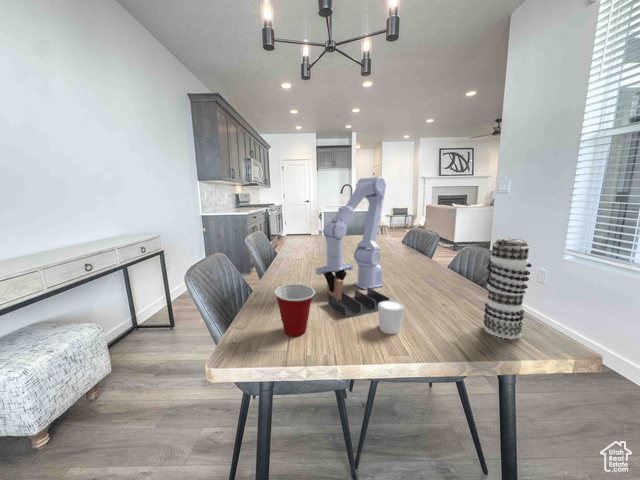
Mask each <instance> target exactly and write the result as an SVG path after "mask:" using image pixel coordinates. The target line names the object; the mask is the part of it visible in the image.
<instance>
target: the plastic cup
mask: <svg viewBox="0 0 640 480" xmlns="http://www.w3.org/2000/svg"><path fill="white" fill-rule="evenodd" d="M315 294H316V292H315V289H314V288H313V287H311V286H309V285H306V284H301V283H288V284H283V285H279V286H278V287H276V288H275V289H274V295H275V296H276V301H277V304H278V308H279V314H280V318H281V319H280V320H281V322H282V326H283V331H284V334H285V335H287V336H289V337H293V338H294V337H295V338H296V337H301V336H302V335H304V334H305V333H306V331H307V327H308V326H307V325H308V321H309V315H310V310H311V309H310V308H311V304H312V300H313V297H314V296H315Z"/></svg>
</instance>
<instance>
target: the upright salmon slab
mask: <svg viewBox="0 0 640 480" xmlns="http://www.w3.org/2000/svg"><path fill="white" fill-rule="evenodd" d="M326 290H327V291H326V292H327V293H328V294H329V295H331V296H332V297H333V298H335V299H336V300H340V299H342V292H344V280H341V279H339V278H337V277H336V276H335V278H334V291H333V292H331V291H329V286H328V283H327V282H326Z"/></svg>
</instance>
